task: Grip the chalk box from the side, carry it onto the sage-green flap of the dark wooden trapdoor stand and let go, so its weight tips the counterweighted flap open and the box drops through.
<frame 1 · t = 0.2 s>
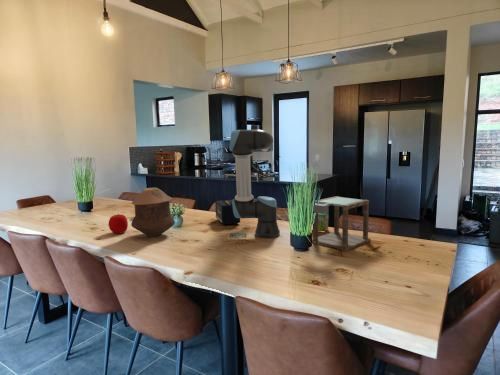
hand: (248, 181, 254), 27 cm above the table, tool tilted 20°, fingers open, 13 cm apart
trapdoor stand: (340, 241, 192), on the table
trapdoor: (332, 203, 184), point 23 cm above the table, hinge at 0.0°
pottery vessel: (154, 235, 213), on the table
tomato: (119, 233, 221), on the table
chalk box: (319, 230, 217), on the table
speaker: (227, 222, 245), on the table
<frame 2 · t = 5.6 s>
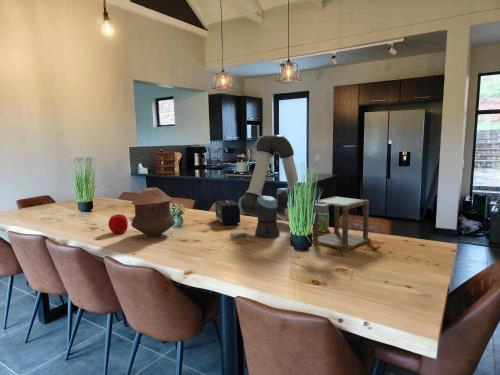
hand: (318, 216, 218), 8 cm above the table, tool horizontal, fingers open, 13 cm apart
chalk box: (320, 230, 217), on the table, touching gripper
everything else where it was.
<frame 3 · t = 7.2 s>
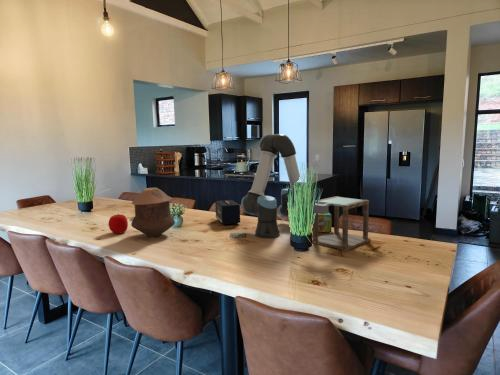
hand: (324, 218, 213), 9 cm above the table, tool horizontal, fingers closed on chalk box, 12 cm apart
chalk box: (322, 231, 215), on the table, touching gripper
everything else where it was.
when the fingers open (33 cm above the table, at t = 15.1 s): chalk box drops 19 cm, resting on trapdoor stand.
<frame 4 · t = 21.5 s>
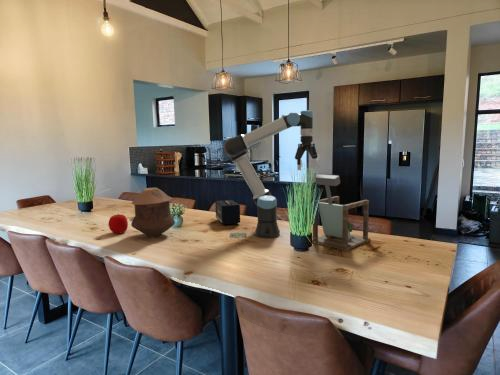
hand: (306, 169, 217), 39 cm above the table, tool pointing down, fingers open, 13 cm apart
trapdoor: (331, 207, 183), point 21 cm above the table, hinge at -72.3°
chalk box: (327, 228, 197), point 6 cm above the table, touching trapdoor stand
everything else where it was.
at the end: chalk box point 6.1 cm above the table; chalk box inside the target area on the trapdoor stand (8.1 cm from its centre), point 6.1 cm above the trapdoor stand's base; the gripper is holding nothing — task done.
